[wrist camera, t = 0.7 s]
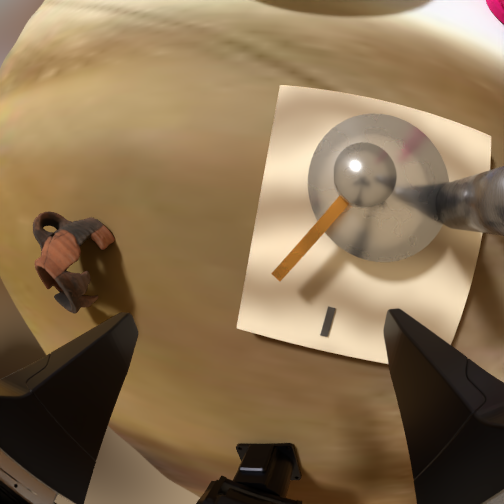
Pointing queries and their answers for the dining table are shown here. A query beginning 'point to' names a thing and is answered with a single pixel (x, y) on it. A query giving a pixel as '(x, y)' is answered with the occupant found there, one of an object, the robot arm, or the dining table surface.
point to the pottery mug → (67, 256)
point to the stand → (338, 260)
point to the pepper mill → (497, 8)
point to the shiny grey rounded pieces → (391, 192)
